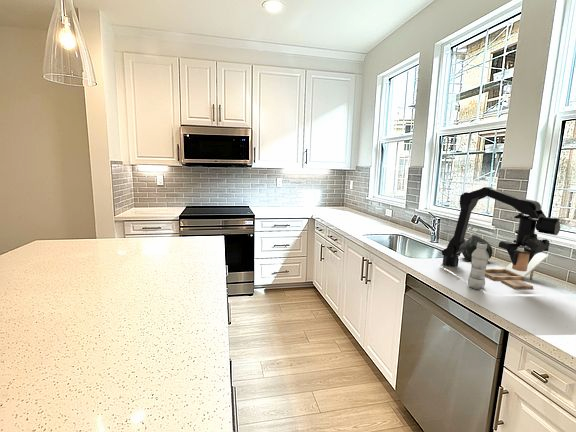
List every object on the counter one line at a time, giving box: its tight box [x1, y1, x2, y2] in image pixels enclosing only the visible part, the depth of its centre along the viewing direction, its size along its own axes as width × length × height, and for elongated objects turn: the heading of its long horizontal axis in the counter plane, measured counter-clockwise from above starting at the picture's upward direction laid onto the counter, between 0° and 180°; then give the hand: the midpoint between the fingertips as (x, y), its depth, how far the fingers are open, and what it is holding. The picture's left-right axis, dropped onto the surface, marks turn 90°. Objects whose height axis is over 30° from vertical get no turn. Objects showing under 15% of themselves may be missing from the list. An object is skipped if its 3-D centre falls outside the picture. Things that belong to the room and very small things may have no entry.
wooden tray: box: [485, 268, 525, 281], centre depth 146 cm, size 15×11×2 cm
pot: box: [512, 249, 530, 271], centre depth 133 cm, size 5×5×8 cm
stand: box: [500, 280, 534, 290], centre depth 135 cm, size 9×7×2 cm
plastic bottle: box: [467, 242, 490, 291], centre depth 131 cm, size 6×7×20 cm
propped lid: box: [504, 252, 550, 280], centre depth 147 cm, size 11×11×13 cm
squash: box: [461, 234, 493, 262], centre depth 173 cm, size 14×15×15 cm
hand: (520, 265), depth 133 cm, fingers closed on pot, 5 cm apart
